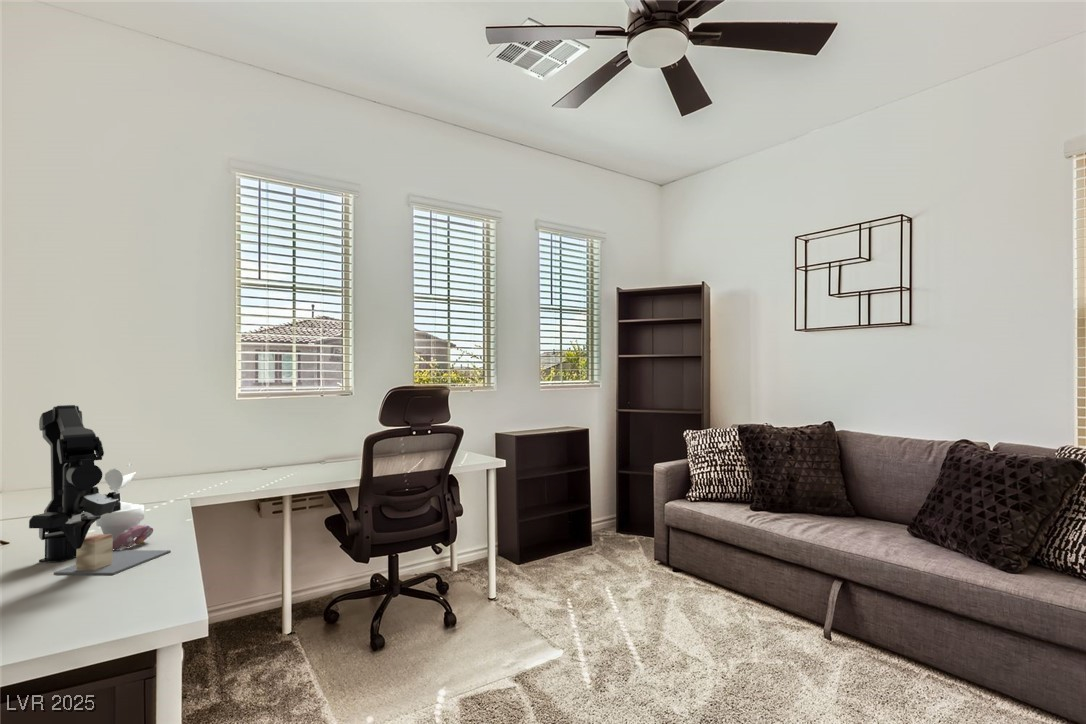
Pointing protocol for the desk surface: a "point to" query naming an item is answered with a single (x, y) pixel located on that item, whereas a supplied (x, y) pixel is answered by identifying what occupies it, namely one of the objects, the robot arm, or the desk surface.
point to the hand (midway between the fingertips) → (77, 548)
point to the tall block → (95, 552)
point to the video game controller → (132, 536)
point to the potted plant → (128, 513)
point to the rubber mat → (118, 562)
